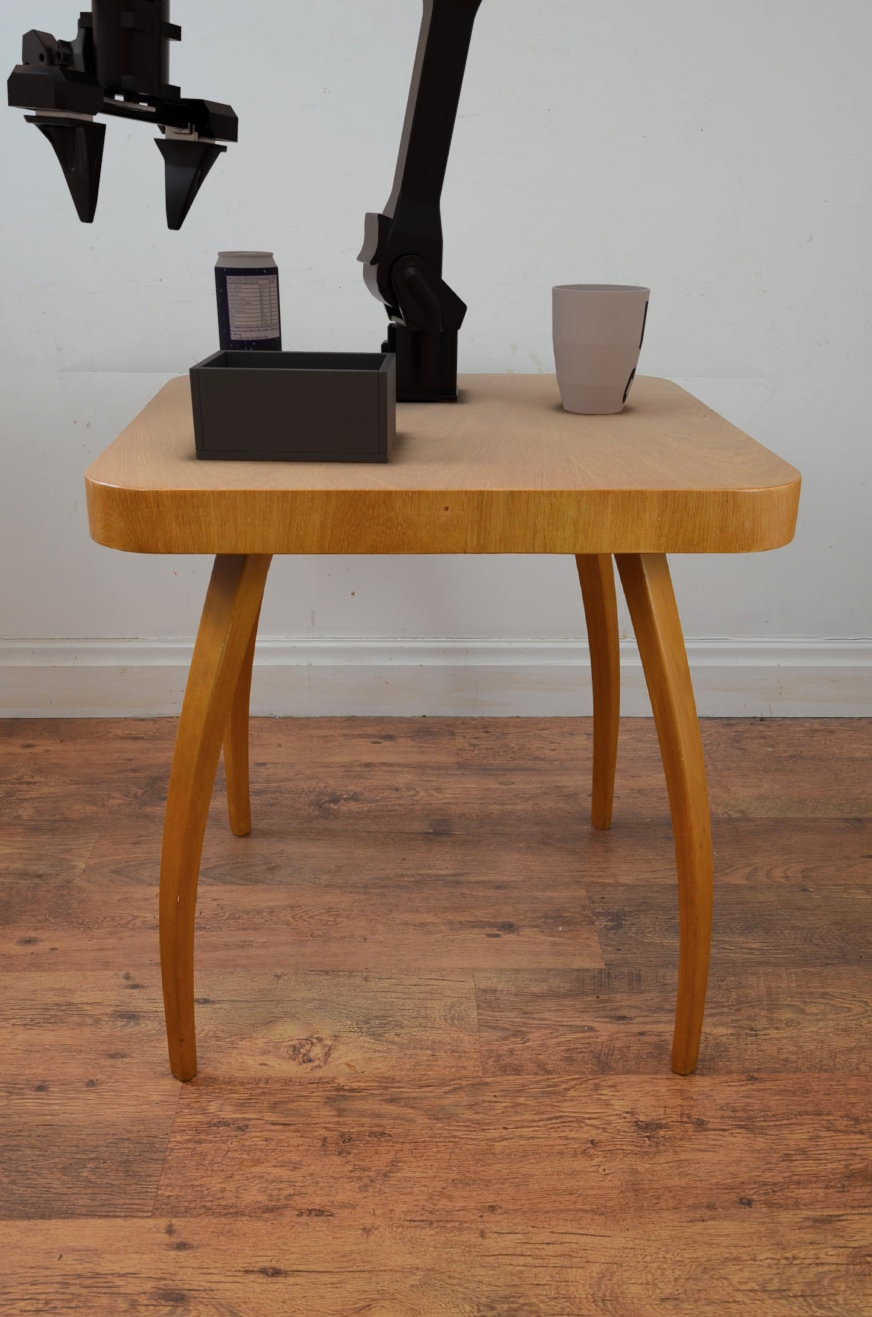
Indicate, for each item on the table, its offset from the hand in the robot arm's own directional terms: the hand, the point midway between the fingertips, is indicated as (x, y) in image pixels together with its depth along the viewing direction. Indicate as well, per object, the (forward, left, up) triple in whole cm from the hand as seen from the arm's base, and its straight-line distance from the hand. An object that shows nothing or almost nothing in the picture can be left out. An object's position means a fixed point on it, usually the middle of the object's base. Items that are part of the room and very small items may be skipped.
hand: (132, 226), depth 84 cm
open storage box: (-15, +16, -14) cm, 26 cm away
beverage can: (-7, -8, -14) cm, 18 cm away
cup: (-38, -1, -14) cm, 41 cm away
